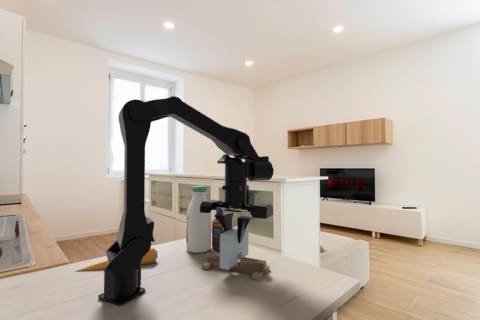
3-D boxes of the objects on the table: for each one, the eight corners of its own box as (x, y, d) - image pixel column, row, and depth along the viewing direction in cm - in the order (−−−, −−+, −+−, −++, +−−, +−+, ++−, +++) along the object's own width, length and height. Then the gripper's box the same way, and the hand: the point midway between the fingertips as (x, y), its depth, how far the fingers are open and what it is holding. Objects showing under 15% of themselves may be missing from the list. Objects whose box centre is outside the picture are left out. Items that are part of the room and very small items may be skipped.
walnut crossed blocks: (259, 280, 60) (259, 267, 60) (201, 268, 67) (201, 256, 67) (269, 269, 66) (269, 257, 66) (215, 259, 73) (215, 248, 73)
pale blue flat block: (228, 269, 61) (228, 235, 61) (219, 268, 62) (220, 234, 62) (248, 254, 71) (248, 225, 72) (240, 252, 72) (240, 224, 73)
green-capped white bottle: (215, 248, 83) (216, 186, 83) (200, 255, 76) (200, 187, 77) (197, 244, 87) (198, 184, 87) (180, 250, 80) (181, 186, 81)
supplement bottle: (230, 250, 80) (230, 214, 81) (210, 250, 80) (211, 214, 81) (230, 245, 86) (230, 211, 87) (212, 245, 86) (213, 211, 87)
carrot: (157, 262, 73) (155, 246, 74) (158, 262, 69) (156, 245, 70) (75, 281, 65) (75, 262, 67) (70, 282, 61) (70, 262, 63)
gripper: (279, 181, 70) (279, 238, 70) (219, 179, 78) (218, 230, 78) (266, 183, 60) (265, 250, 60) (198, 180, 68) (197, 240, 68)
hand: (235, 242), depth 67 cm, fingers closed on pale blue flat block, 2 cm apart
